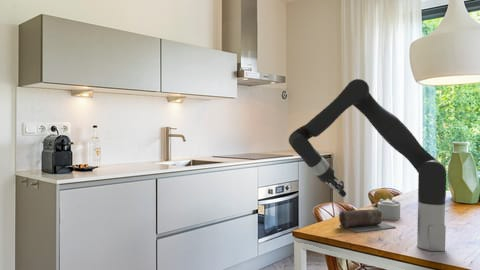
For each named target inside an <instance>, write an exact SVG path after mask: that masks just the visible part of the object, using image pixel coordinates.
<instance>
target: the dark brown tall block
mask: <svg viewBox="0 0 480 270" xmlns="http://www.w3.org/2000/svg"><path fill="white" fill-rule="evenodd" d="M338 217H339V218H338V219H339V223H340V224H339V225H341V226H342V227H341V226H340V227H341V228H343V227H344V229H346V228H347V227H357V226H368V225H379V224H380V223H381V222H382V223H383V219H382V213H381V211H380V210H379V209H378V208H373V209H357V210H356V209H355V210H341V211H340V212H339V216H338Z"/></svg>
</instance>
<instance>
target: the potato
mask: <svg viewBox="0 0 480 270" xmlns="http://www.w3.org/2000/svg"><path fill="white" fill-rule="evenodd" d="M372 196H373V197H372V199H373V202H374V204H375V205H376V206H377V207H378V202H379V200H380V199H383V200H384V201H385V200H386V199H389V200H390V201H391V200H392V199H393V194H392V192H391V191H390V190H389V189H386V188H378V189H376V190H375V191H374V193H373V195H372Z"/></svg>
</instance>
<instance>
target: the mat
mask: <svg viewBox="0 0 480 270" xmlns="http://www.w3.org/2000/svg"><path fill="white" fill-rule="evenodd" d="M339 227H341V228H344V227H342V226H341V224H339ZM344 229H346V230H348V231H350V232H354V233H365V232H366V233H367V232H373V231H374V232H375V231H382V230H391V229H397V227H396V226H395V225H391V224H388V223H385V222H383V221H382V222H381V223H380V224H379V225H368V226H357V227H347V228H344Z"/></svg>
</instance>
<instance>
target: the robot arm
mask: <svg viewBox="0 0 480 270" xmlns="http://www.w3.org/2000/svg"><path fill="white" fill-rule="evenodd" d="M351 106H353V107H355V109H356V110H358V111H359V112H360V113H361V114H362V115H364V117H365V118H366V119H367V120H368V121H369V123H370V124H371V125H372V127H373V128H374V129H375V131H376V132H377V133H378V134H379V135H380V136H381V137H382V138H383V139H384V140H385V142H387V144H389V145H390V147H392V148H393V149H394V150H395V151H396V152H398V153H399V154H400V155H402V156H403V157H404V158H405V159H406V160H408V162H409V163H410V165H411V166H412V167H413V168H414V169H415V170H416V172H417V173H418V176H417V178H418V179H417V182H418V183H417V185H418V186H417V230H416V231H417V232H416V233H417V237H416V239H417V240H416V241H417V243H416V247H418V248H419V249H422V250H425V251H428V252H446V237H447V236H446V231H447V229H446V224H445V223H446V222H445V221H446V197H447V171H446V168H445V166H444V164H443V163H442V162H440V161H439V160H437V159H436V158H435V157H433V156H432V155H431V154H430V152H428V151H427V150H426V149H425V148H424V147H423V146H422V145H421V144H420V142H419V141H418V140H417V138H416V136H414V134H413V133H412V132H411V131H410V130H409V128H408V127H407V126H406V125H405V124H404V122H403V121H401V120H400V119H399V118H398V116H396V115H395V114H393V113H392V112H390V111H389V110H388V109H386V108H385V107H383V106H382V105H380V103H378V102H377V100H376V99H375V98H374V97H373V96H372V94H371V93H370V86H369V84H368V82H367V81H365V80H364V79H360V78H355V79H353V80H351V81H350V82H349V83H348V84H347V85H346V86H345V87H344V88H343V90H342V91H341V92H340V93H339V95H337V96H336V98H334V99H333V101H331V102H330V103H329V104H328V105H327V106H326V107H325V108H323V109H322V110H321V111H320V112H319V113H317V114H316V115H315V116H314V117H313V118H311V119H310V120H309V121H308V122H307V123H306V124H304V125H302V126H301V127H298V128H297V129H295V130H294V131H292V132H291V134H290V135H289V136H288V143H289V145H290V147H291V148H292V149H293V150H294V152H295V153H296V154H298V157H300V158H301V159H302V160H303V162H304V163H305V164H306V165H307V167H308V168H309V169H310V171H311V172H312V173H313V174H314V175H315V177H316V178H317V179H318V180H319V181H320V182H322V183H323V184H324V185H326V186H327V187H329V188H330V189H331V190H334V191H335V192H337V193H338V195H339V196H340V197H342V198H344V197H346V195H347V192H346V191H345V184H344V181H342V180H341V181H339V180H338V178H337V176H336V175H335V170H334V168H333V167H332V165H330V163H329V162H328V161H327V160H326V159H325V158H324V157H323V155H321V153H320V152H318V151H317V149H316V148H315V147H314V146H313V144H312V143H311V142H310V139H311V138H316V137H319V136H321V134H323V132H325V131H326V130H327V129H328V128H330V126H331V125H333V123H335V121H336V120H337V119H339V117H340V116H341V115H342V114H343V113H344V112H345V111H346V110H348V109H349V108H351Z"/></svg>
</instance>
